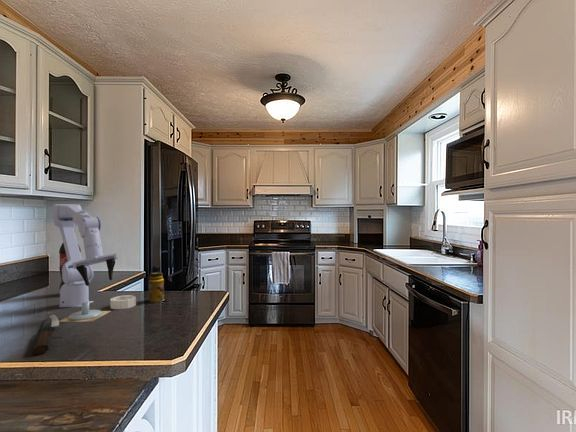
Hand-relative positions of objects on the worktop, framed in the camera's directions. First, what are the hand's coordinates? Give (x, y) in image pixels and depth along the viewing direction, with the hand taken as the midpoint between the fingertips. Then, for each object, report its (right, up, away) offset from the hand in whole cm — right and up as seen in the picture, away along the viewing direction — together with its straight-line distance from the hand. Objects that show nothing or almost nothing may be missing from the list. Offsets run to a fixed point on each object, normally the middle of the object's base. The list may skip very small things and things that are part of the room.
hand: (99, 282), depth 122 cm
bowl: (+4, -12, +10) cm, 16 cm away
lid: (-3, -12, -3) cm, 12 cm away
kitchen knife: (-5, -12, -19) cm, 23 cm away
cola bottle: (-32, -12, +33) cm, 47 cm away
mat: (-3, -12, -3) cm, 13 cm away
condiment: (+13, -12, +18) cm, 25 cm away
